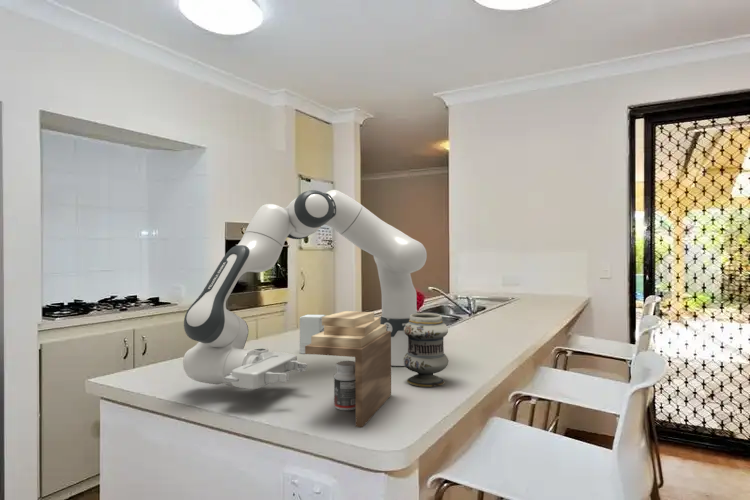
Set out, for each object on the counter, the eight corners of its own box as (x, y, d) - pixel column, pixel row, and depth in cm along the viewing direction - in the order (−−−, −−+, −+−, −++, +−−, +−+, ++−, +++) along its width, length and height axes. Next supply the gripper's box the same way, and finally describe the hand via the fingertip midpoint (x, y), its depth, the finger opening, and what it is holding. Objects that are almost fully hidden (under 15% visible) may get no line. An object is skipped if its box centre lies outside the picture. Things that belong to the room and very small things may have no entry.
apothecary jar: (421, 391, 120) (421, 319, 120) (394, 380, 130) (394, 314, 130) (458, 383, 127) (457, 315, 127) (429, 373, 137) (429, 310, 137)
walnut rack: (305, 421, 100) (305, 346, 100) (343, 391, 121) (343, 329, 121) (362, 427, 96) (361, 349, 96) (391, 395, 117) (390, 331, 117)
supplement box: (319, 354, 163) (319, 317, 163) (299, 353, 164) (298, 316, 164) (326, 350, 170) (326, 314, 170) (306, 349, 172) (306, 313, 172)
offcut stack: (311, 344, 101) (311, 319, 101) (343, 330, 119) (343, 308, 119) (360, 347, 98) (360, 321, 98) (386, 332, 116) (386, 309, 116)
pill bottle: (334, 403, 111) (334, 360, 111) (358, 402, 112) (358, 359, 112) (334, 411, 106) (334, 366, 106) (360, 410, 106) (359, 365, 106)
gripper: (219, 364, 107) (274, 369, 102) (266, 347, 126) (314, 350, 122) (219, 393, 106) (274, 399, 102) (266, 371, 126) (314, 375, 122)
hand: (296, 372), depth 112 cm, fingers open, 8 cm apart
